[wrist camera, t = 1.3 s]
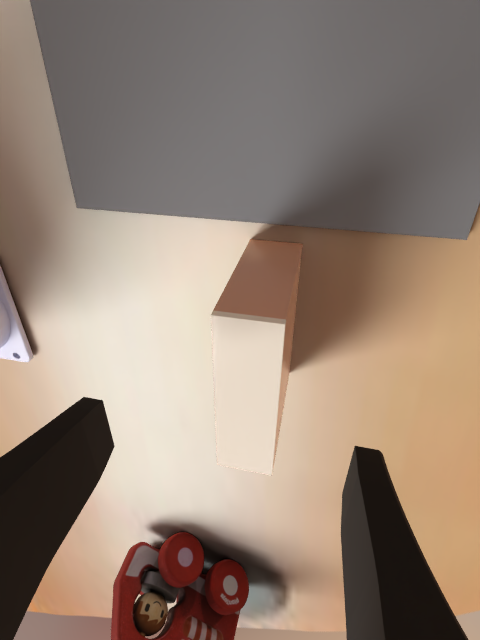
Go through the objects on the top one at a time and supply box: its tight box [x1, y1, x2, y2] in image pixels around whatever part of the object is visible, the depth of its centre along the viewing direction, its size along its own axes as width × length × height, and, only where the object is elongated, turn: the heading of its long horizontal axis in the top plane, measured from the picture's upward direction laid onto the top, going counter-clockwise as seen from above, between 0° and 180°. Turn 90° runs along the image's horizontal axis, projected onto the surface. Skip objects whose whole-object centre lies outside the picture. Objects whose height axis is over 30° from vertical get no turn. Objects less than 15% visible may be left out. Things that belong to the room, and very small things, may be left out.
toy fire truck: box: [111, 532, 249, 640], centre depth 34 cm, size 7×12×10 cm, turn 54°
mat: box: [30, 0, 480, 240], centre depth 15 cm, size 18×10×1 cm, turn 90°
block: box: [211, 239, 303, 476], centre depth 18 cm, size 2×8×7 cm, turn 0°
